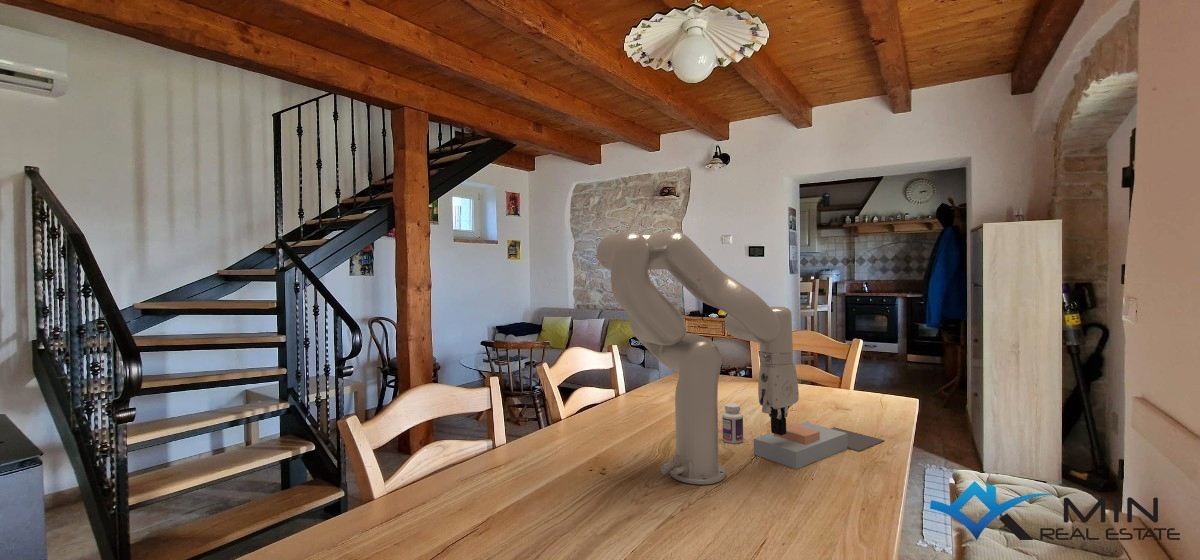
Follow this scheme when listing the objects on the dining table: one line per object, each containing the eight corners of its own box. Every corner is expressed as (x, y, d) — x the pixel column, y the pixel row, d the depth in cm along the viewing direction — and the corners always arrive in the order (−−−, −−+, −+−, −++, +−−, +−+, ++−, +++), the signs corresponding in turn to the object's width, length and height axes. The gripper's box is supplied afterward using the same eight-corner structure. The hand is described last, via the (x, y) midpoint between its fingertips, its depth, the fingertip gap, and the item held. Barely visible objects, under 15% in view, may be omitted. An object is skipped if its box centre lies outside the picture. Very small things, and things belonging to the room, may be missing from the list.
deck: (796, 469, 119) (796, 452, 119) (753, 454, 129) (753, 438, 129) (847, 448, 132) (847, 433, 131) (805, 436, 141) (805, 422, 141)
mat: (859, 451, 129) (859, 450, 129) (808, 437, 141) (808, 436, 141) (884, 441, 137) (884, 440, 137) (834, 428, 148) (834, 427, 148)
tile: (805, 444, 123) (805, 436, 123) (773, 435, 131) (773, 427, 131) (819, 439, 127) (819, 431, 127) (787, 430, 134) (787, 423, 134)
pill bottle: (741, 437, 142) (740, 402, 141) (744, 444, 136) (744, 407, 136) (721, 437, 142) (720, 402, 142) (724, 443, 137) (723, 407, 137)
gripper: (770, 365, 116) (772, 445, 117) (808, 355, 125) (810, 430, 126) (743, 360, 123) (746, 436, 123) (781, 352, 131) (784, 423, 132)
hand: (778, 433), depth 124 cm, fingers closed
